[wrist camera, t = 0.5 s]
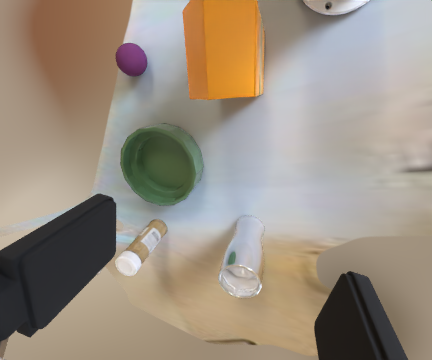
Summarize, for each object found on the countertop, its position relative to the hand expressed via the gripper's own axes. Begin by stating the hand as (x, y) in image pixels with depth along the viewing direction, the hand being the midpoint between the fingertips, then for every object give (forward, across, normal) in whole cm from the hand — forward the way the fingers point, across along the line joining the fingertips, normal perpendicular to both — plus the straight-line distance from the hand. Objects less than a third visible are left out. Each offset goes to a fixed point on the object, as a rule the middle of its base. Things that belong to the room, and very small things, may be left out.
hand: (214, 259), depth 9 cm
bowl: (+34, +17, +11) cm, 40 cm away
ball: (+34, +24, -6) cm, 42 cm away
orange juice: (+34, +6, -9) cm, 36 cm away
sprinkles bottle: (+34, +18, +28) cm, 48 cm away
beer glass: (+34, -3, +20) cm, 40 cm away
